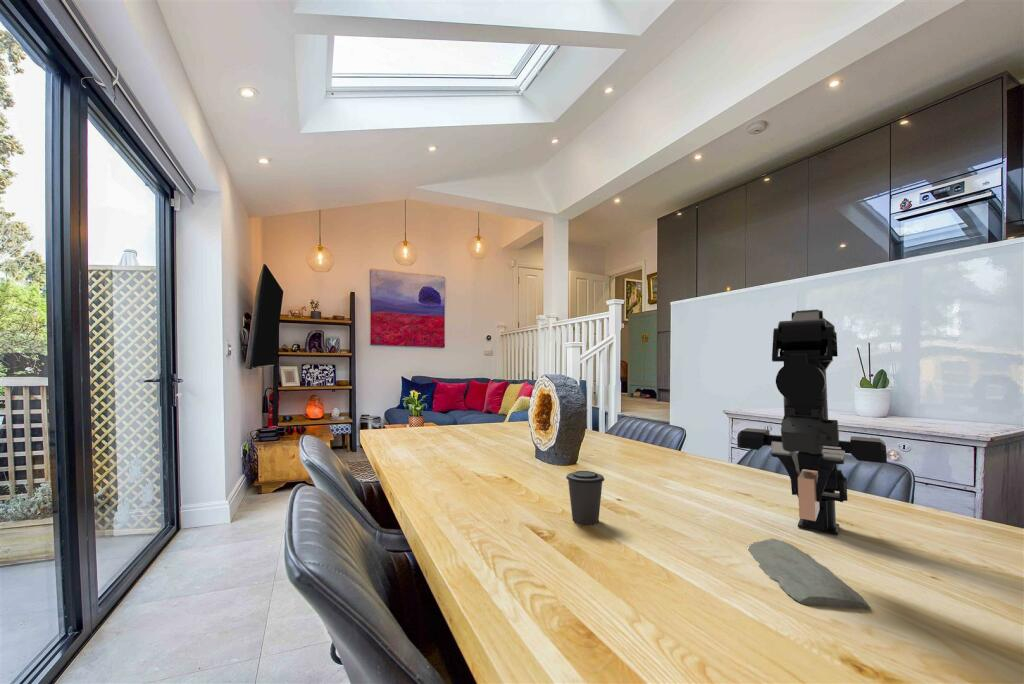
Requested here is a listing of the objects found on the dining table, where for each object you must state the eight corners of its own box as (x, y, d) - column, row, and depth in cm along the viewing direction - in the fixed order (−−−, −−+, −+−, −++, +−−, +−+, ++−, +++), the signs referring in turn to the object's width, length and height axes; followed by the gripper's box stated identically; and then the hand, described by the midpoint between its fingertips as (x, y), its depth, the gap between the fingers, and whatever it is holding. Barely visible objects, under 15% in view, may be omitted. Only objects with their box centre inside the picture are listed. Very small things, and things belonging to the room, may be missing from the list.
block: (799, 518, 64) (797, 477, 64) (804, 506, 69) (802, 469, 70) (815, 521, 63) (813, 479, 63) (819, 509, 68) (817, 471, 69)
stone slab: (799, 618, 57) (879, 613, 56) (795, 597, 57) (875, 591, 56) (733, 551, 79) (790, 546, 78) (730, 536, 80) (787, 531, 78)
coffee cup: (608, 528, 85) (608, 477, 86) (568, 527, 86) (567, 476, 86) (601, 514, 93) (600, 468, 94) (564, 514, 94) (563, 467, 94)
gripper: (727, 398, 67) (730, 500, 66) (885, 405, 55) (892, 528, 54) (743, 395, 76) (746, 485, 75) (882, 400, 64) (888, 507, 63)
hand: (809, 499), depth 66 cm, fingers closed on block, 2 cm apart
